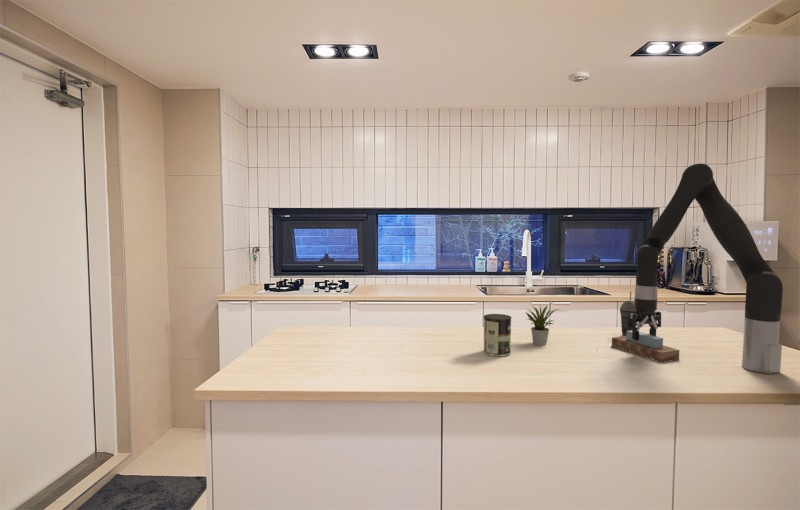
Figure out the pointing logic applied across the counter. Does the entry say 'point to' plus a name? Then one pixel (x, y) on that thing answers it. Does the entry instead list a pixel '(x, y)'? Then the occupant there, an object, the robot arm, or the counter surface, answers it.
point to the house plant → (540, 326)
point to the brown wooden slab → (646, 349)
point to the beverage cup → (626, 315)
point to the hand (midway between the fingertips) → (644, 339)
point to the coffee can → (497, 335)
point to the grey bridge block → (646, 340)
